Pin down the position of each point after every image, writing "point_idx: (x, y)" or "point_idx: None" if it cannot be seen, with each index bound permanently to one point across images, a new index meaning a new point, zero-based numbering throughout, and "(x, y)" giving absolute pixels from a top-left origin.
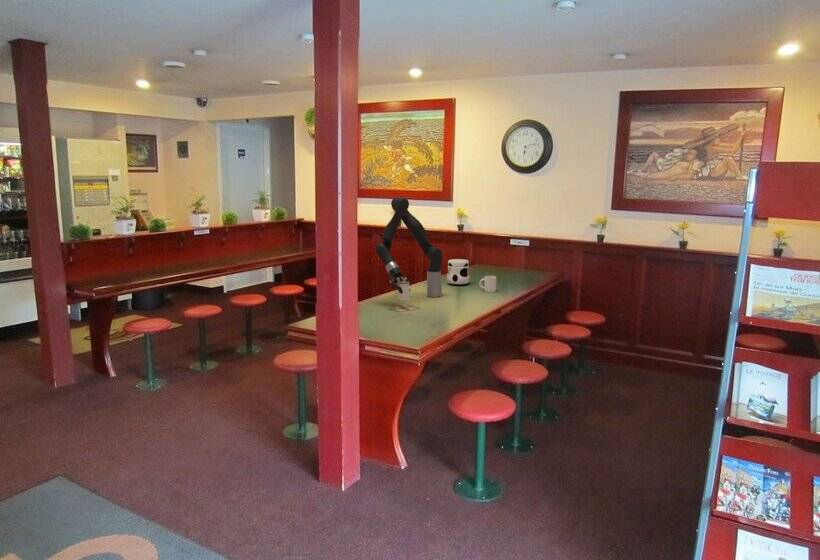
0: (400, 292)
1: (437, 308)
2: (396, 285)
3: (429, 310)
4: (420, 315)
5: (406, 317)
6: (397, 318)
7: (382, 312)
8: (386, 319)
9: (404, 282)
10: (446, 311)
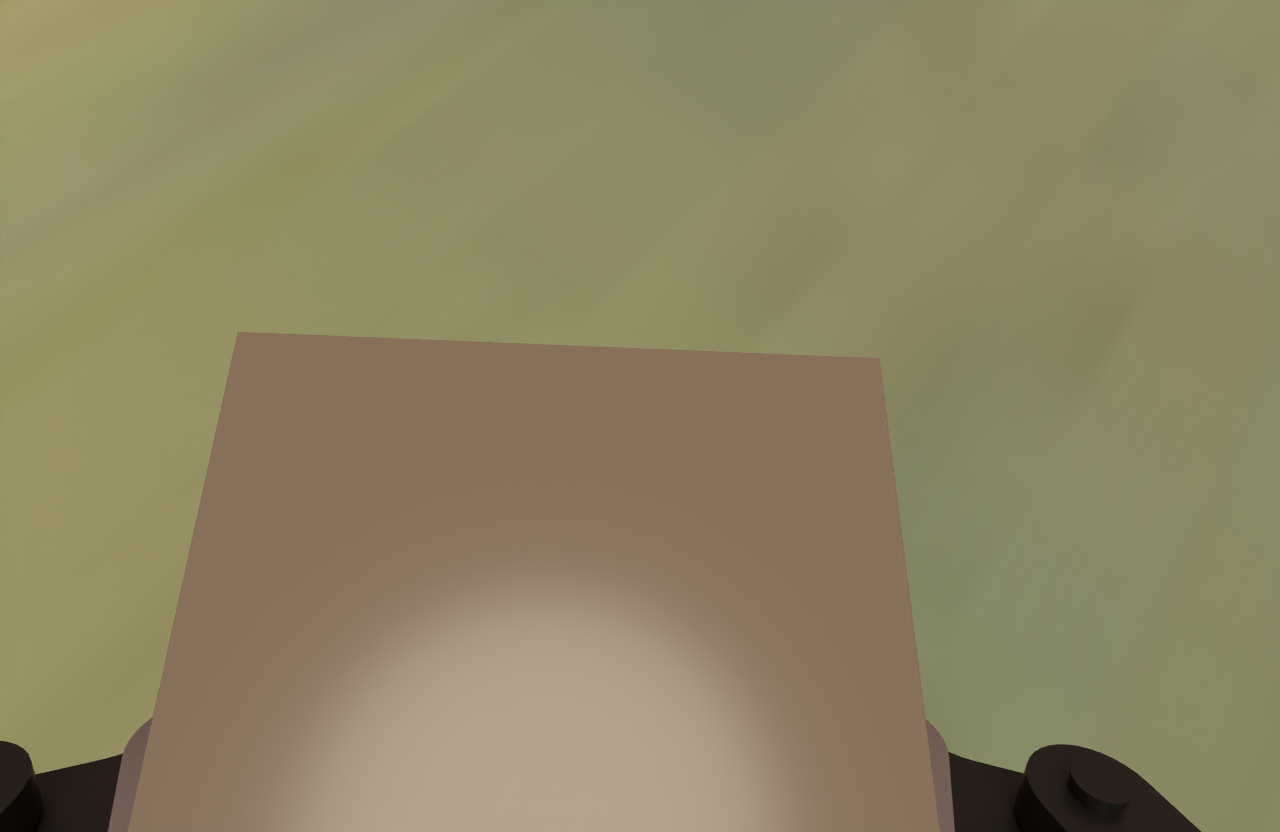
0: None
1: (53, 260)
2: (1096, 778)
3: (298, 253)
4: (672, 133)
5: (926, 186)
6: (1076, 230)
7: (1138, 735)
8: (1253, 292)
9: (628, 481)
10: (155, 39)
